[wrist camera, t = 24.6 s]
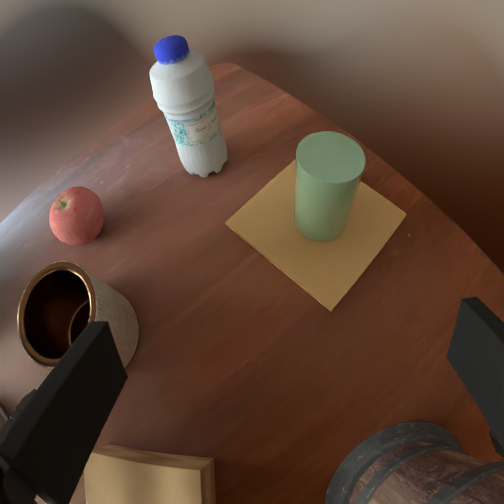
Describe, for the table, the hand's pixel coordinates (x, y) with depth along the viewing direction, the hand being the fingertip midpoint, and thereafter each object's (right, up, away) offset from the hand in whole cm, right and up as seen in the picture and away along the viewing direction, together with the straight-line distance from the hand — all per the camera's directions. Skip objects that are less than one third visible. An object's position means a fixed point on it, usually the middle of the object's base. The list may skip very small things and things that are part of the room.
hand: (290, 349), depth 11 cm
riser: (-11, -23, +15) cm, 29 cm away
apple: (-24, +6, +30) cm, 38 cm away
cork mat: (+7, +7, +27) cm, 29 cm away
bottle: (-8, +15, +32) cm, 37 cm away
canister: (+7, +7, +27) cm, 28 cm away
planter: (-19, -6, +23) cm, 31 cm away
